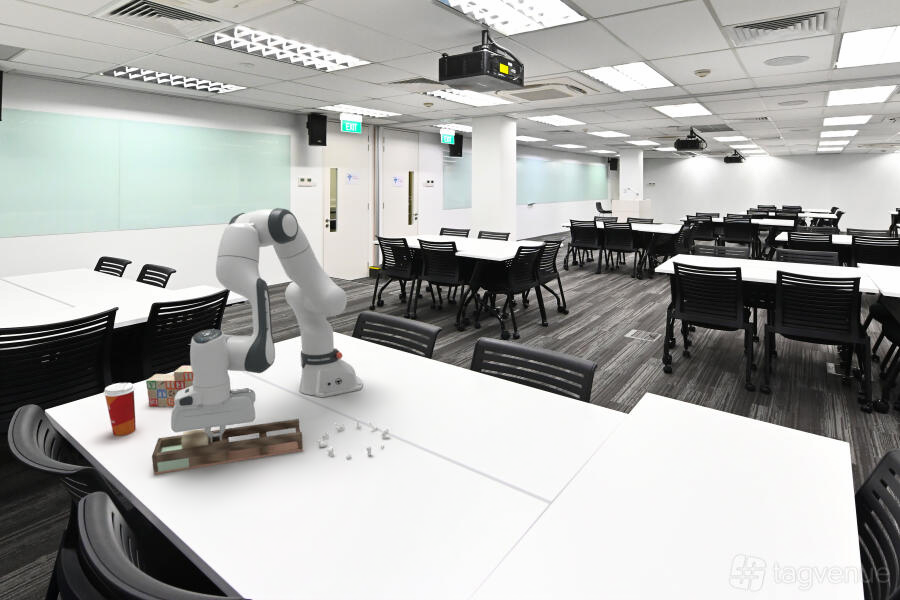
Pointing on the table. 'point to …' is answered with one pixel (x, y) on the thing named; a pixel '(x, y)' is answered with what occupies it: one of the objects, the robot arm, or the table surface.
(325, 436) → the game piece set
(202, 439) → the maple block
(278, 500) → the table surface
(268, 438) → the track
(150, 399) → the stack of blocks
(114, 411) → the paper cup
